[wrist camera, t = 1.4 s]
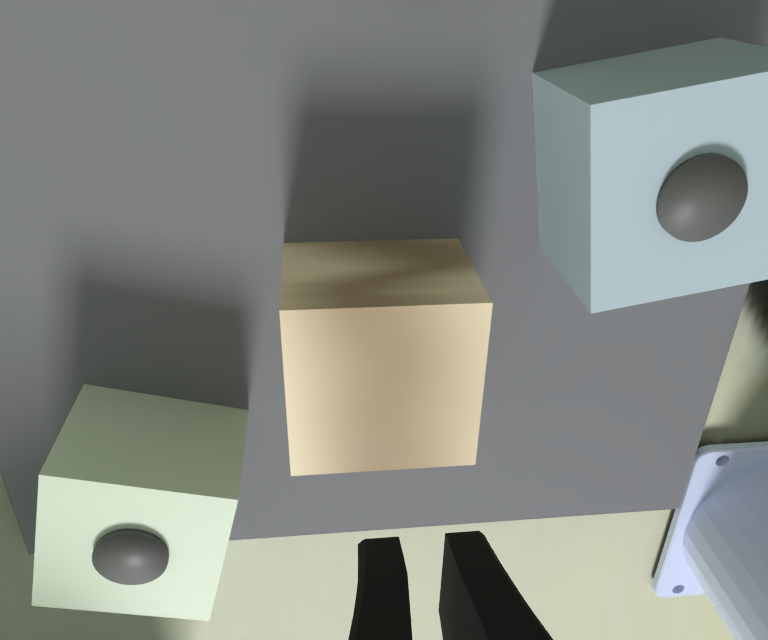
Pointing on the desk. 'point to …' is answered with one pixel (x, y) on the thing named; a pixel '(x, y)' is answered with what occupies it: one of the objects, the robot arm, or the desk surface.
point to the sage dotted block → (138, 505)
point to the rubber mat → (329, 237)
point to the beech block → (382, 354)
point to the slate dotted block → (654, 172)
